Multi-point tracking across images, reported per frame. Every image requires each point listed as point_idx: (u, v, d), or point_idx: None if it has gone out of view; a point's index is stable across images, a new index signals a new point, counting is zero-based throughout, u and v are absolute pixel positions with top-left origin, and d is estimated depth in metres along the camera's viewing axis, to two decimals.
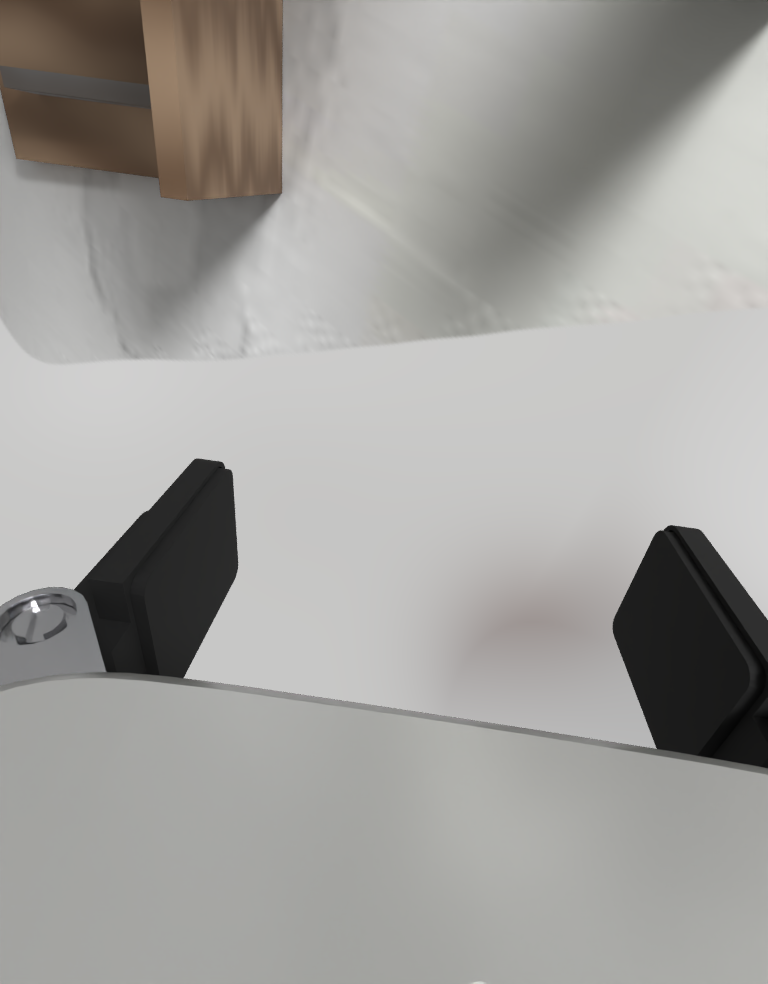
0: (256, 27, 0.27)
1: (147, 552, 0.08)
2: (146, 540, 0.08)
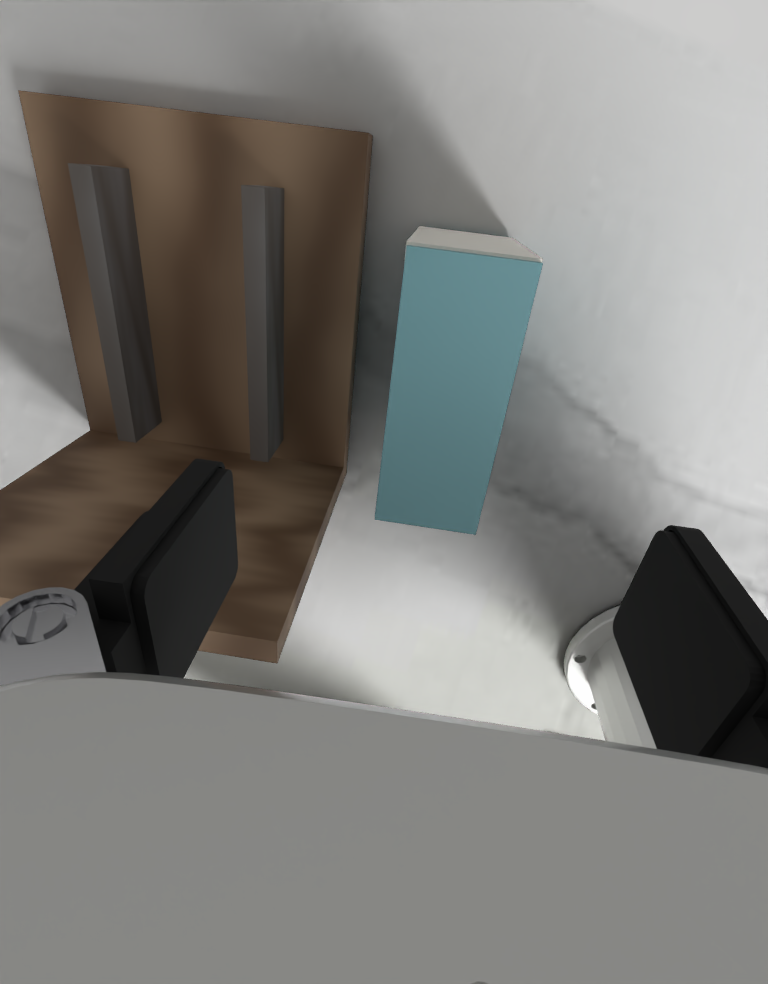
0: None
1: (147, 553, 0.08)
2: (146, 540, 0.08)
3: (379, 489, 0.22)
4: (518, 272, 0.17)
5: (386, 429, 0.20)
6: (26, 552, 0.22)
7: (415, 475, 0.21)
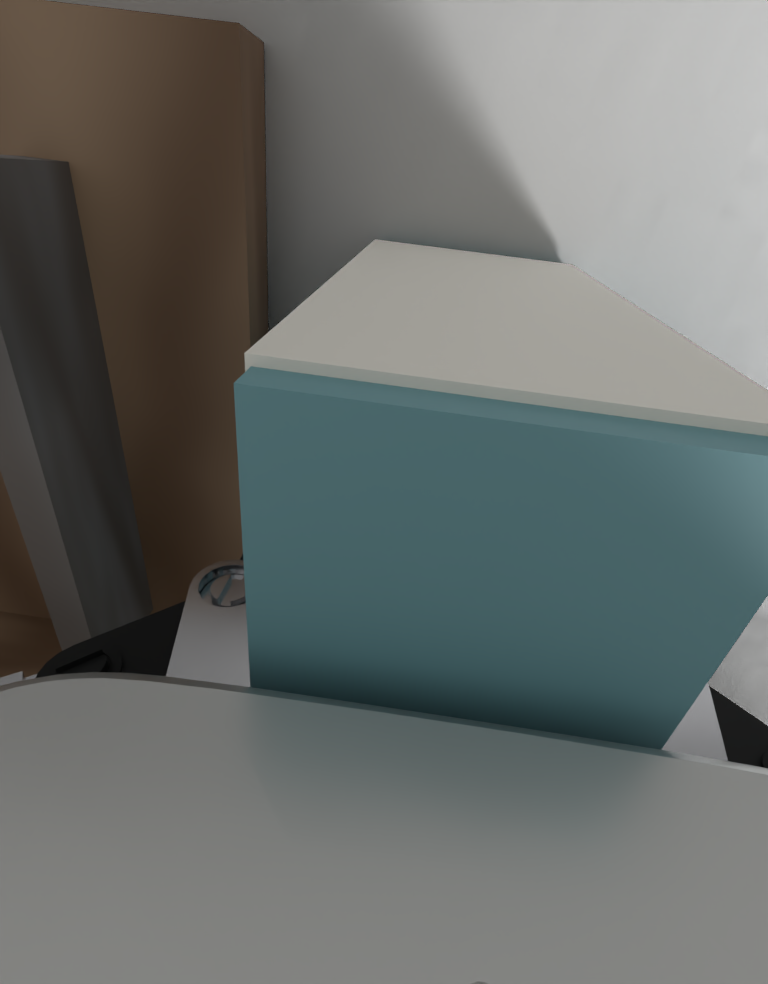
0: None
1: None
2: None
3: None
4: (731, 496, 0.04)
5: None
6: None
7: None
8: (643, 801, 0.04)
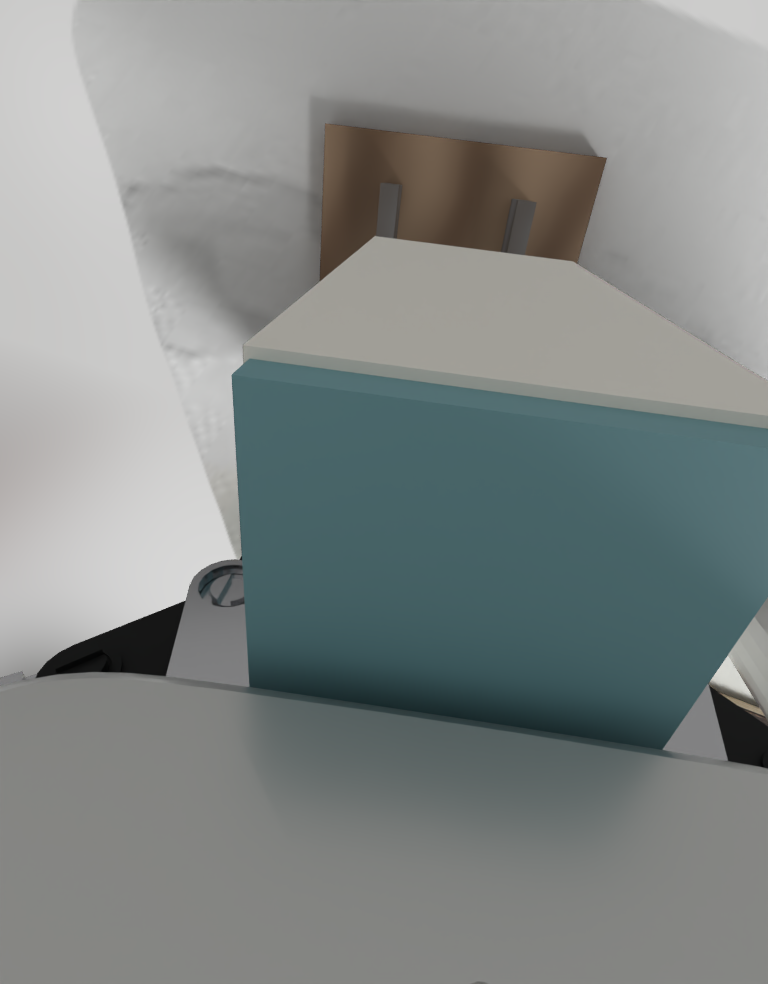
0: None
1: None
2: None
3: None
4: (735, 489, 0.04)
5: None
6: None
7: None
8: (642, 801, 0.04)
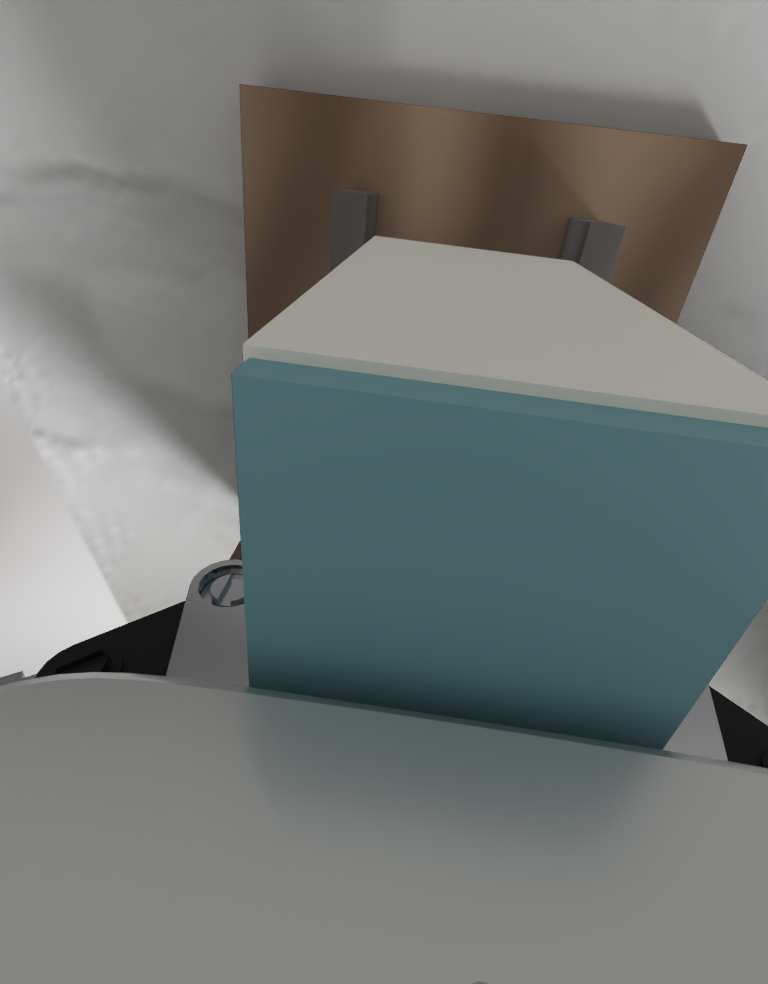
0: None
1: None
2: None
3: None
4: (736, 489, 0.04)
5: None
6: None
7: None
8: (643, 801, 0.04)
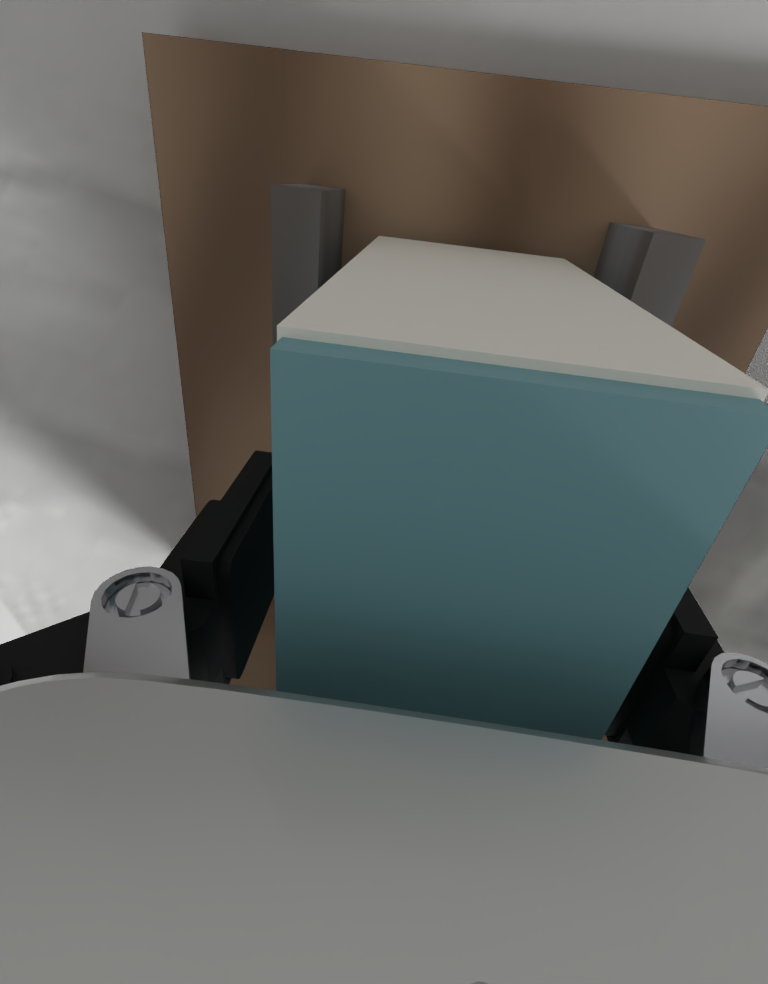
0: None
1: (229, 535, 0.08)
2: (225, 524, 0.09)
3: None
4: (683, 442, 0.05)
5: None
6: None
7: None
8: (643, 801, 0.04)
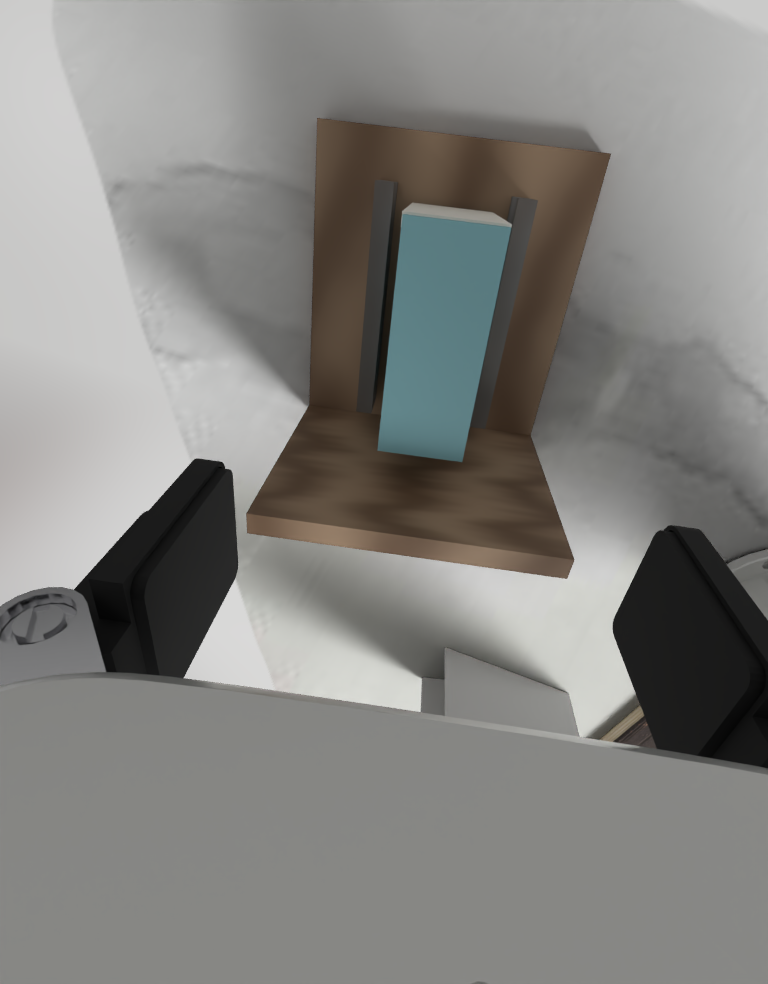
0: None
1: (147, 552, 0.08)
2: (146, 540, 0.08)
3: (381, 423, 0.26)
4: (492, 235, 0.21)
5: (387, 370, 0.24)
6: (343, 497, 0.27)
7: (411, 410, 0.25)
8: (643, 801, 0.04)
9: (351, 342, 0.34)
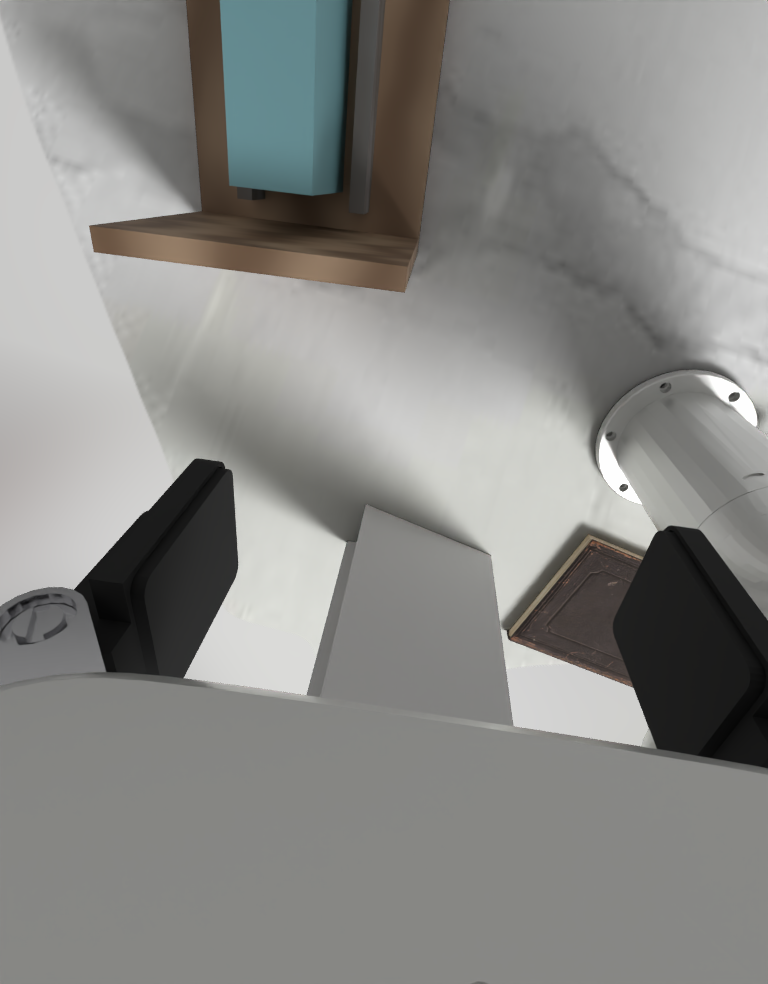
0: None
1: (147, 552, 0.08)
2: (146, 540, 0.08)
3: (228, 150, 0.26)
4: None
5: (225, 82, 0.25)
6: (196, 232, 0.27)
7: (254, 132, 0.26)
8: (642, 801, 0.04)
9: None
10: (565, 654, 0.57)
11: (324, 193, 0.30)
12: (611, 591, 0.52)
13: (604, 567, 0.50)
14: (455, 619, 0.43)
